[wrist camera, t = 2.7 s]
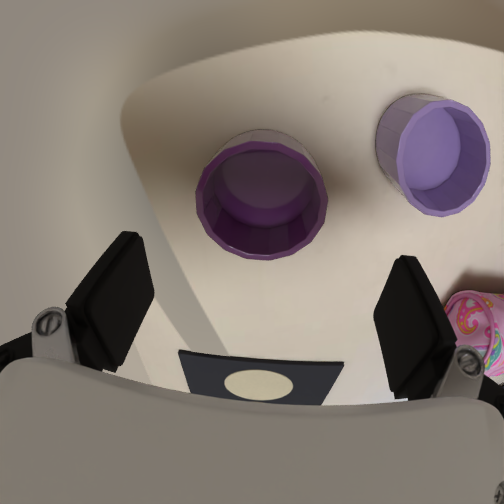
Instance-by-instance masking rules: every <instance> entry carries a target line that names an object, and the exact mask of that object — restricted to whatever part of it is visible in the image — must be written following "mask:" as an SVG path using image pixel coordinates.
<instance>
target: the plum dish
mask: <svg viewBox="0 0 504 504" xmlns="http://www.w3.org/2000/svg"><path fill="white" fill-rule="evenodd" d="M195 194H196V210H197V215H198V217H199V219H200V221H201V223H202V225H203V227H204V229H205V231H206V233H207V234H208V236H209V237H211V238H212V239H213V240H214V241H215V242H216V243H217V244H218V245H220V246H221V247H222V248H223V249H225V250H226V251H228V252H231V253H233V254H236V255H238V256H240V257H243V258H245V259H254V260H268V261H269V260H274V259H278V258H282V257H286V256H290V255H293V254H294V253H296V252H297V251H299V250H300V249H302V248H303V247H305V246H306V245H308V244H309V243H311V242H312V240H313V239H314V237H315V236H316V234H317V233H318V231H319V230H320V228H321V227H322V225H323V224H324V221H325V216H326V210H327V204H328V197H327V193H326V189H325V186H324V182H323V178H322V175H321V173H320V171H319V169H318V167H317V164H316V162H315V160H314V159H313V157H312V156H311V155H310V153H309V152H308V151H307V149H306V148H305V147H304V146H303V145H302V144H301V143H300V142H298V141H297V140H296V139H294V138H292V137H291V136H289V135H287V134H284V133H282V132H278V131H274V130H252V131H248V132H244V133H242V134H239V135H237V136H235V137H234V138H232V139H230V140H229V141H228V142H227V143H226V144H225V145H224V146H223V147H222V148H221V149H220V150H219V151H217V152H216V154H215V155H214V156H213V158H212V159H211V160H210V161H209V163H208V164H207V165H206V167H205V168H204V170H203V172H202V175H201V177H200V180H199V182H198V185H197V188H196V191H195Z"/></svg>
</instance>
